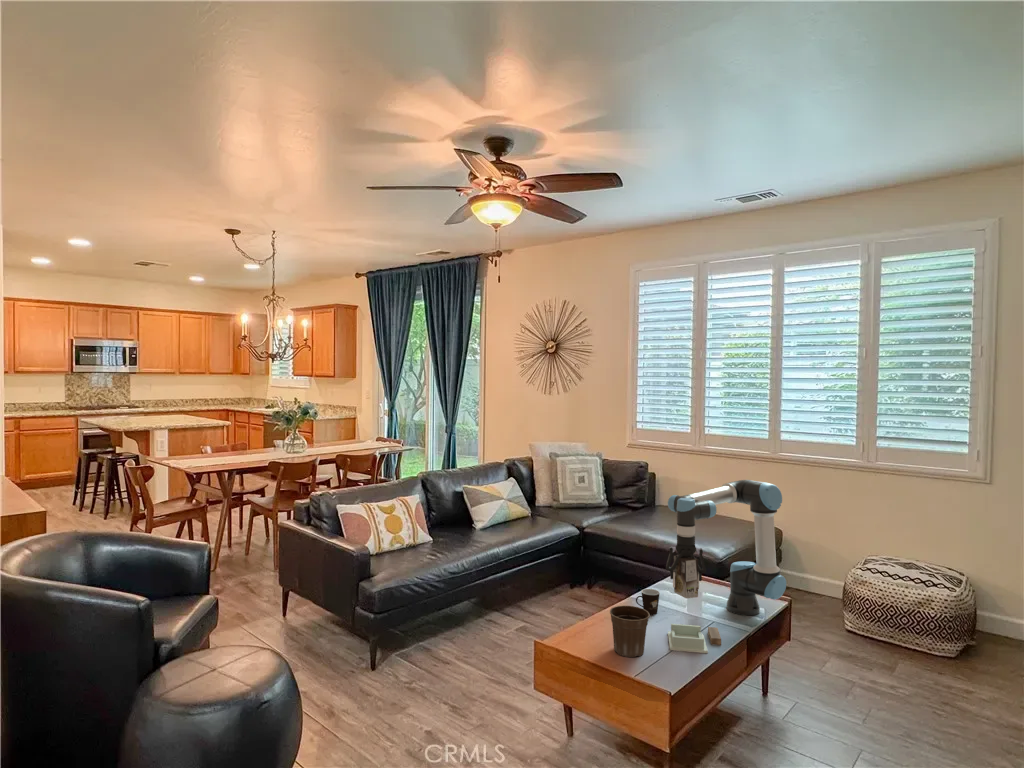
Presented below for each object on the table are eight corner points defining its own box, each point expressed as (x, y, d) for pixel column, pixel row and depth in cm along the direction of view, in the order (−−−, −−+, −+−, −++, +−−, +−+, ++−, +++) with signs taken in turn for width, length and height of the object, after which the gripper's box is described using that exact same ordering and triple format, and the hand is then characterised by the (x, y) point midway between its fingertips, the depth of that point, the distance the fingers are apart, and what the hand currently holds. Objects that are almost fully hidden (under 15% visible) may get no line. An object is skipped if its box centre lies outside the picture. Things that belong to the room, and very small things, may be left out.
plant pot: (649, 645, 257) (649, 607, 257) (649, 662, 241) (649, 621, 241) (610, 641, 260) (610, 603, 260) (608, 657, 245) (608, 617, 245)
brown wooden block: (717, 634, 268) (717, 627, 268) (721, 645, 257) (721, 638, 257) (708, 633, 269) (708, 626, 269) (711, 645, 258) (711, 637, 258)
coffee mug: (658, 609, 297) (658, 589, 297) (660, 616, 288) (660, 595, 288) (634, 608, 298) (634, 588, 298) (636, 615, 289) (636, 594, 289)
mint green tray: (703, 636, 265) (703, 624, 265) (707, 653, 249) (707, 641, 249) (667, 633, 268) (667, 622, 268) (670, 650, 252) (670, 638, 252)
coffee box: (698, 597, 256) (698, 559, 256) (685, 599, 254) (685, 560, 254) (686, 590, 265) (686, 553, 265) (673, 592, 262) (673, 554, 262)
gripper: (711, 534, 261) (711, 586, 261) (659, 531, 265) (659, 582, 265) (713, 538, 253) (713, 592, 253) (659, 535, 258) (659, 588, 258)
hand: (685, 587), depth 259 cm, fingers closed on coffee box, 9 cm apart
